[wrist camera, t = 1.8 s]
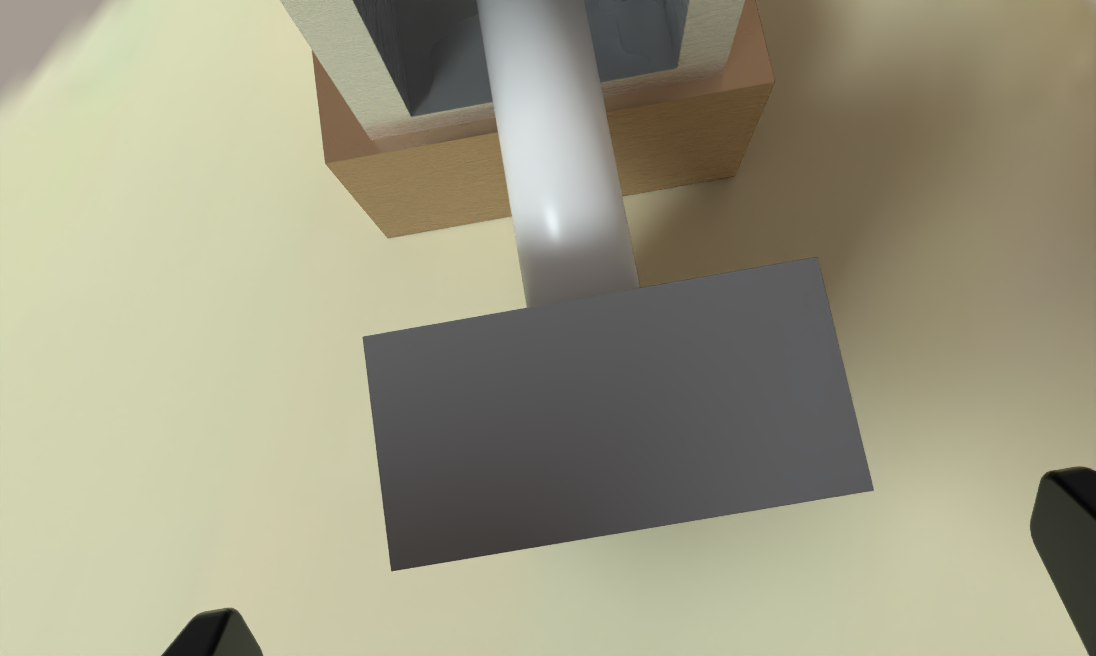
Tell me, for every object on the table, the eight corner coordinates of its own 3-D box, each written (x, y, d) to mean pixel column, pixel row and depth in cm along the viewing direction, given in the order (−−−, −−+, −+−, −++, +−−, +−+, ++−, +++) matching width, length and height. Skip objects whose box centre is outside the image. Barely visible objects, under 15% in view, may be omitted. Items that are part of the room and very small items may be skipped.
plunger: (750, 491, 15) (874, 490, 8) (484, 535, 15) (390, 571, 8) (666, 97, 17) (713, -174, 10) (426, 140, 17) (309, -98, 10)
